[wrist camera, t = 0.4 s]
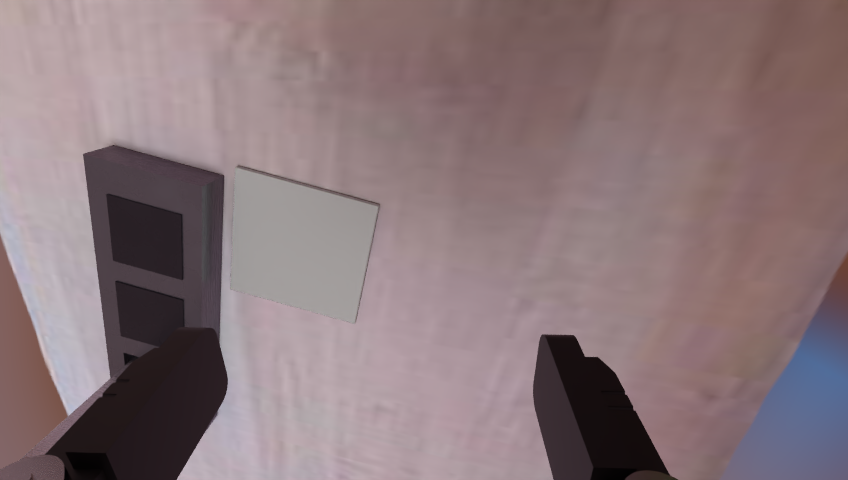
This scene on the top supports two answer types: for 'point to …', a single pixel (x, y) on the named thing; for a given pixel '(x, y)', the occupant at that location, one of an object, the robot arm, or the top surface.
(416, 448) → the top surface
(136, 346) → the dark grey slotted tray
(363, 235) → the mat
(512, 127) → the top surface
